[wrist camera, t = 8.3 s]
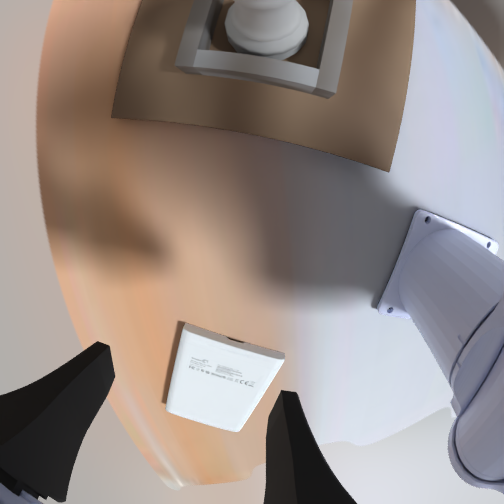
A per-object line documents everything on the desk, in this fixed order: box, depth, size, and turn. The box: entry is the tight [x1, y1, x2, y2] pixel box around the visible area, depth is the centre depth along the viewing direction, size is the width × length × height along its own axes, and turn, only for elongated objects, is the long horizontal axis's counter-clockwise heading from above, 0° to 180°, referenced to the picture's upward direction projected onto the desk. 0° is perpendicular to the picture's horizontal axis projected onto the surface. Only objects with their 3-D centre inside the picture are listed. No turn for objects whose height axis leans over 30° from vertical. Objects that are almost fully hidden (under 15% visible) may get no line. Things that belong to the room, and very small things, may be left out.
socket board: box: [111, 0, 416, 172], centre depth 11 cm, size 17×14×3 cm
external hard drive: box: [165, 323, 285, 432], centre depth 23 cm, size 2×8×12 cm
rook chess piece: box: [224, 0, 309, 60], centre depth 8 cm, size 4×4×8 cm
